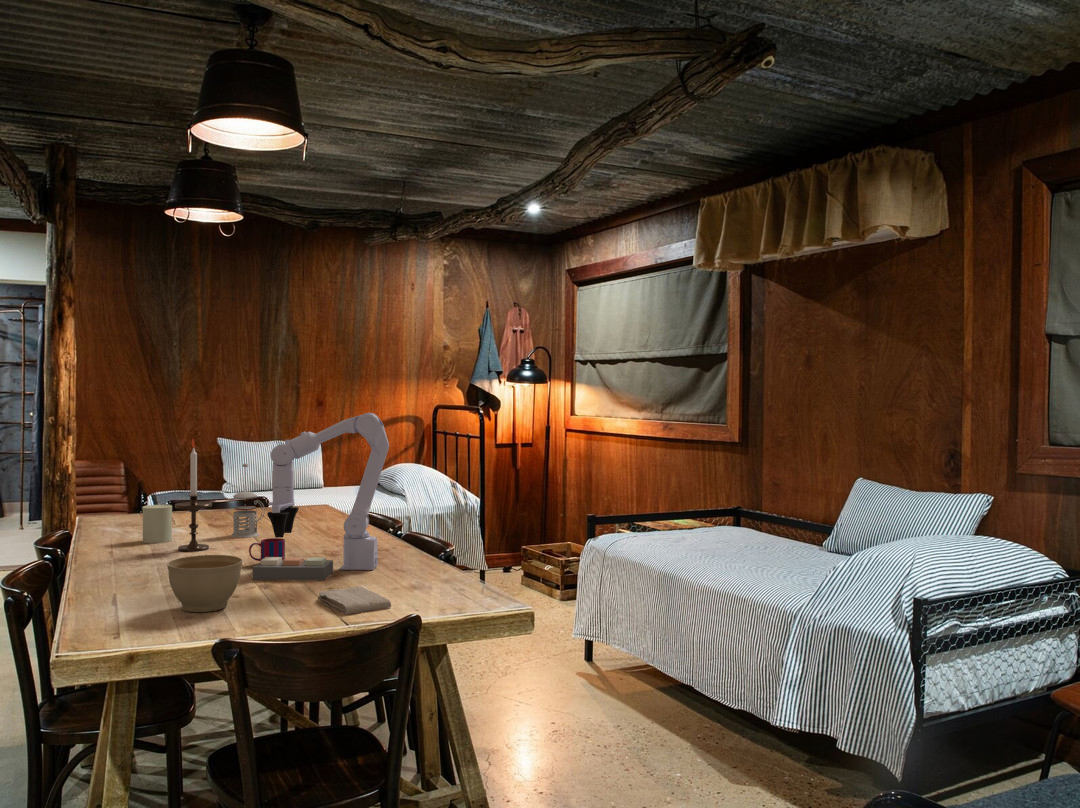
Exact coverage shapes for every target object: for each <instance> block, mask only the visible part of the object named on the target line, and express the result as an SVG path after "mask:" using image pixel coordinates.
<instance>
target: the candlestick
mask: <svg viewBox="0 0 1080 808" xmlns="http://www.w3.org/2000/svg"><path fill="white" fill-rule="evenodd" d="M191 440H192V441H191V447H192V451H191V452H190V490H189V491H190V493H189V494H188V495H186V496H187V497H189V501H184V502H177V503H175V504H174V509H177V510H187V511H188V512H190V513H191V515H190V516H191V517H190V520H191V521H190V522H191V523H190V524H188V528H189V529H190V532H189V533H188V534H189V535H191V536H190V537H191V539H190V541H189V543H188V544H183V545H179V546H178V547H177V548H178V549H177V551H178V552H181V553H182V552H183V553H194V552H195V553H196V552H197V553H198V552H204V551H209V548H210V546H209V544H205V543H199V542H198V541H197V535H198V531H197V528H199V524H198V523H197V512H198V511H200V510H201V509H207V508H212V506H213V503H212V502H211V501H210V502H209V501H198V497H199V496H201V495H200V494H198V466H197V465H198V453H197V452H196V449H195V447H196V445H195V440H194V439H193V438H192V439H191Z"/></svg>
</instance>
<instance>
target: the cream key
mask: <svg viewBox="0 0 1080 808" xmlns="http://www.w3.org/2000/svg"><path fill="white" fill-rule="evenodd" d="M260 562H261V565H279V564H281V563H282V557H265V558H264V559H262V560H261V561H260Z"/></svg>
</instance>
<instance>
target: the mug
mask: <svg viewBox="0 0 1080 808" xmlns="http://www.w3.org/2000/svg"><path fill="white" fill-rule="evenodd" d="M255 545H257V546H259V547H260V558H256V557H254V556H253V555H252V548H253V546H255ZM248 553H249V554H248V555H249V556H250V557H251V559H253V560H255V561H258V562H261V560H262V559H264V558H265V557H282V560H284V559H286V540H285V538H274V537H273V538H272V537H271V538H263V539H260V543H259V542H254V543H251V544H250V545H249V549H248Z"/></svg>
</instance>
